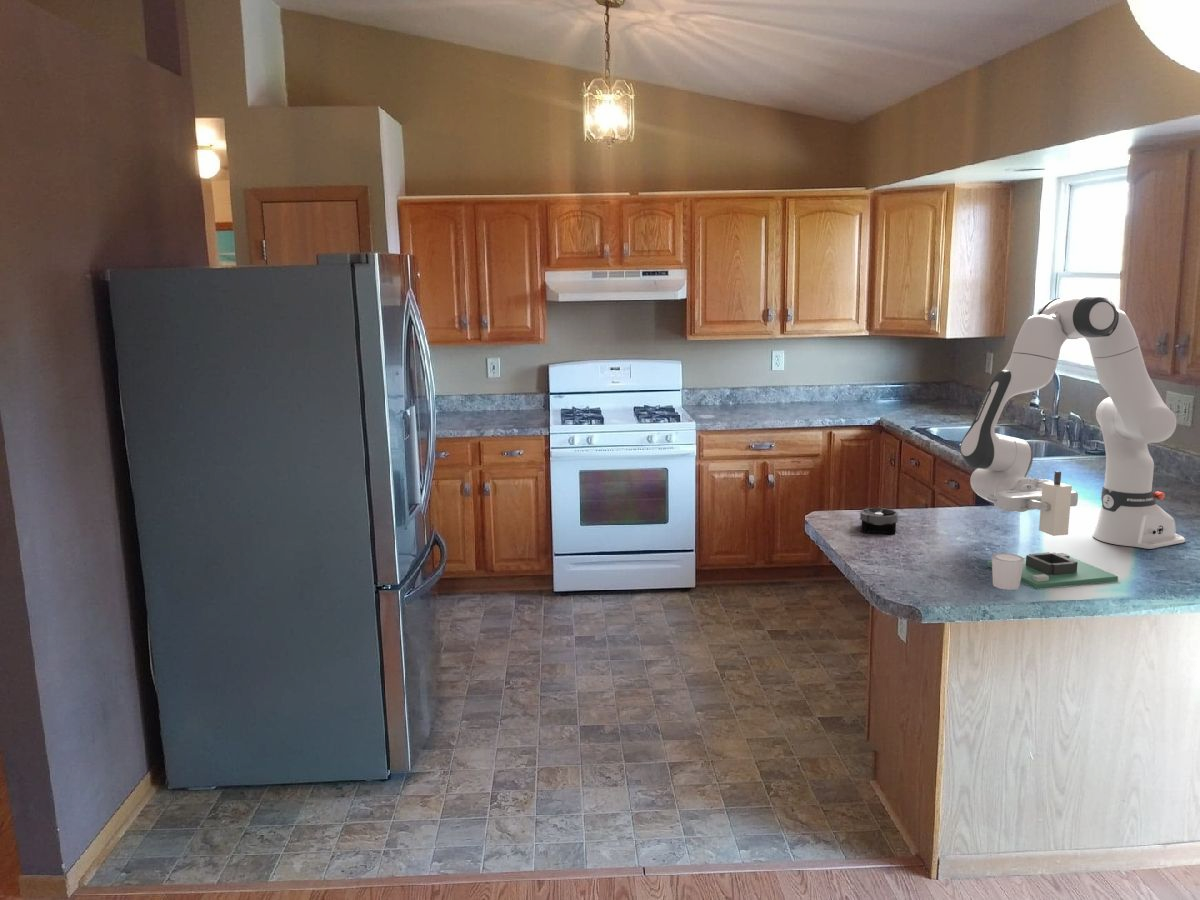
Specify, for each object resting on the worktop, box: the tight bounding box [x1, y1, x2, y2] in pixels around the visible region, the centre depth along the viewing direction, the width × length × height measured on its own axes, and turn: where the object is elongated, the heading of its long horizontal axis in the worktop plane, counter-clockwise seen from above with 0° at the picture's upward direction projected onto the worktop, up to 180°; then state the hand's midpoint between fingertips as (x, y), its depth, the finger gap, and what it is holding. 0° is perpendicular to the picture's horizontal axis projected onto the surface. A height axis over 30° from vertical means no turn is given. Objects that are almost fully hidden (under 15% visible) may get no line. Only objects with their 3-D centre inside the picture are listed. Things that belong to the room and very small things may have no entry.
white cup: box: [991, 552, 1025, 591], centre depth 206 cm, size 7×7×7 cm
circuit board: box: [986, 551, 1119, 590], centre depth 214 cm, size 22×18×4 cm
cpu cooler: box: [859, 507, 899, 536], centre depth 254 cm, size 10×6×10 cm
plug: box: [1038, 470, 1073, 537], centre depth 211 cm, size 4×5×15 cm
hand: (1057, 506), depth 211 cm, fingers closed on plug, 4 cm apart
